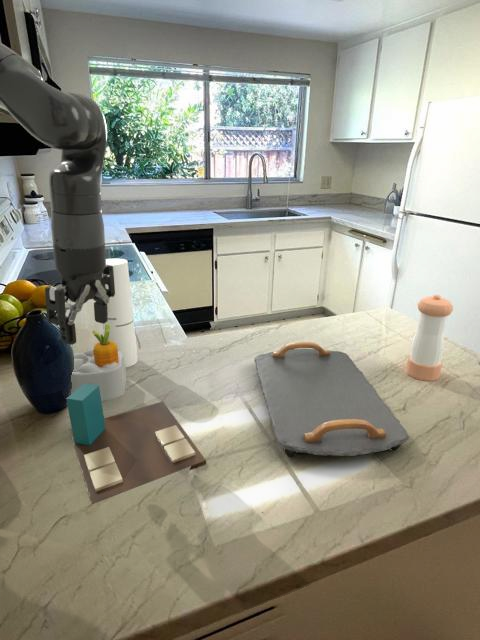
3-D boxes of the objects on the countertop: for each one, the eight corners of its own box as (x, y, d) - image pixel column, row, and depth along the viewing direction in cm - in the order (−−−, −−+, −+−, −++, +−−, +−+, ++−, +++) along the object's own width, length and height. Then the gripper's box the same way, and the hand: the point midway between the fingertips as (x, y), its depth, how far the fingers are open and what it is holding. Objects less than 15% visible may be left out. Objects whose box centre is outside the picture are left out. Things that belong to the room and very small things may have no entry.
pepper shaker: (400, 373, 94) (413, 295, 87) (413, 362, 99) (426, 288, 92) (432, 384, 89) (448, 302, 82) (444, 373, 94) (461, 295, 87)
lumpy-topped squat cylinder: (124, 401, 83) (119, 364, 79) (56, 408, 80) (49, 370, 77) (127, 377, 92) (123, 342, 89) (67, 382, 90) (61, 347, 87)
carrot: (103, 400, 83) (94, 333, 77) (95, 390, 86) (86, 325, 81) (126, 392, 85) (119, 327, 80) (118, 383, 89) (110, 320, 84)
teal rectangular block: (74, 443, 69) (66, 398, 66) (90, 425, 74) (83, 383, 70) (89, 445, 69) (82, 400, 65) (105, 428, 73) (99, 385, 70)
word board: (92, 508, 57) (90, 500, 57) (69, 432, 73) (68, 425, 73) (206, 463, 66) (206, 457, 65) (163, 404, 82) (162, 398, 81)
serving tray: (251, 360, 100) (251, 337, 97) (342, 356, 102) (344, 334, 99) (280, 472, 64) (282, 440, 62) (419, 463, 66) (426, 431, 64)
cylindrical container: (113, 354, 103) (101, 258, 94) (141, 355, 102) (131, 258, 93) (103, 368, 96) (89, 265, 87) (133, 368, 96) (121, 266, 87)
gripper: (87, 226, 69) (93, 311, 76) (23, 245, 57) (37, 345, 64) (126, 234, 67) (128, 320, 74) (68, 255, 55) (77, 356, 62)
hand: (86, 332), depth 69 cm, fingers open, 8 cm apart
